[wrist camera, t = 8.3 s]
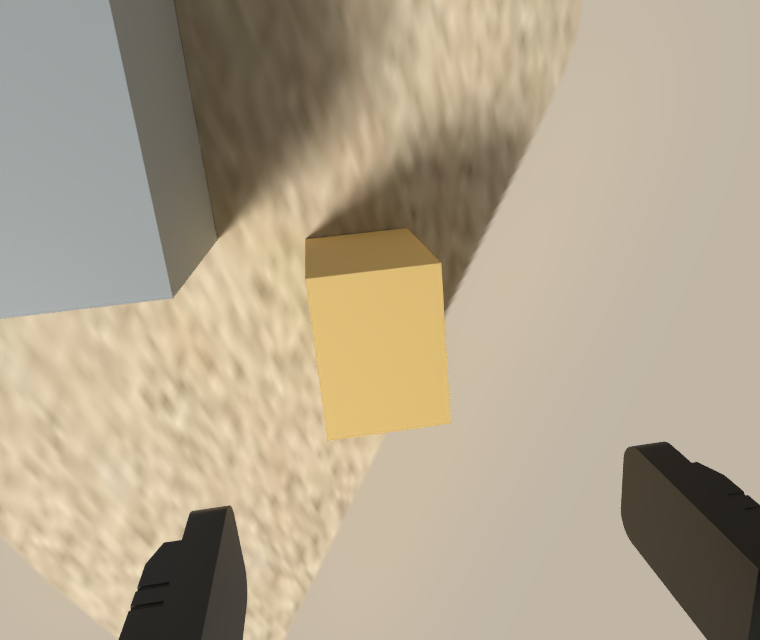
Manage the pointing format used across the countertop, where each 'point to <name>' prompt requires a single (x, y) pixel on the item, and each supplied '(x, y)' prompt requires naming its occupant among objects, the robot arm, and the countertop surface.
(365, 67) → the countertop surface
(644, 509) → the robot arm
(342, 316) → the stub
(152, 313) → the countertop surface
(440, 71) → the countertop surface
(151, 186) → the block
